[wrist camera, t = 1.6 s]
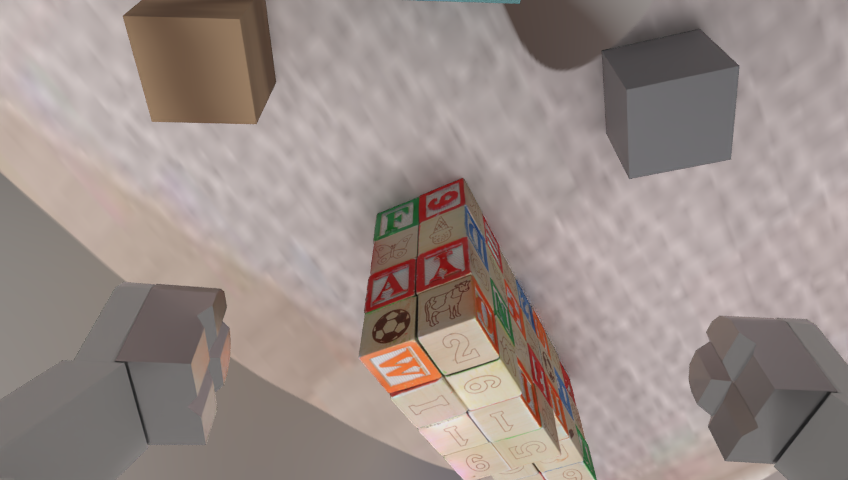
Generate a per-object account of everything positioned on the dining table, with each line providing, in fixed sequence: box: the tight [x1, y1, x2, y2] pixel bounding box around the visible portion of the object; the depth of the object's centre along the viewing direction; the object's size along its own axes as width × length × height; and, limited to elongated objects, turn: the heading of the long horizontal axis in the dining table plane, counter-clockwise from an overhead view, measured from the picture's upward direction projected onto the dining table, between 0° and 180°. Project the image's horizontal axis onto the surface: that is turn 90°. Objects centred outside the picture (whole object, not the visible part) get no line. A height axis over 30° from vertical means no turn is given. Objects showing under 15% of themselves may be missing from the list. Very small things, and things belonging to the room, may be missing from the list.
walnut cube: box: [123, 0, 276, 124], centre depth 29 cm, size 5×5×5 cm
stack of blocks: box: [359, 178, 597, 480], centre depth 39 cm, size 21×6×12 cm, turn 27°
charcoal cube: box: [602, 29, 739, 179], centre depth 31 cm, size 5×5×5 cm
